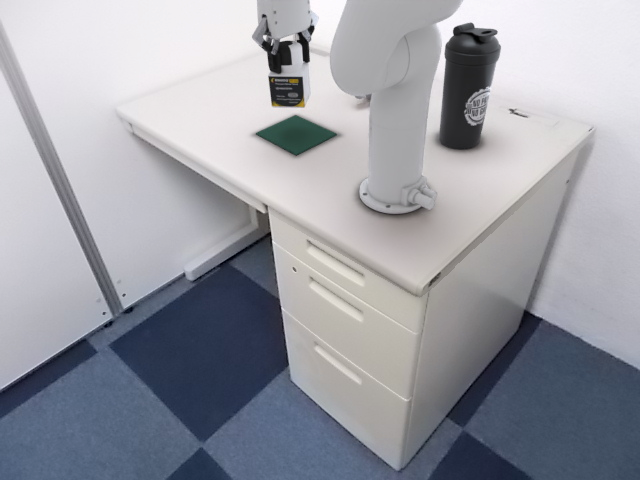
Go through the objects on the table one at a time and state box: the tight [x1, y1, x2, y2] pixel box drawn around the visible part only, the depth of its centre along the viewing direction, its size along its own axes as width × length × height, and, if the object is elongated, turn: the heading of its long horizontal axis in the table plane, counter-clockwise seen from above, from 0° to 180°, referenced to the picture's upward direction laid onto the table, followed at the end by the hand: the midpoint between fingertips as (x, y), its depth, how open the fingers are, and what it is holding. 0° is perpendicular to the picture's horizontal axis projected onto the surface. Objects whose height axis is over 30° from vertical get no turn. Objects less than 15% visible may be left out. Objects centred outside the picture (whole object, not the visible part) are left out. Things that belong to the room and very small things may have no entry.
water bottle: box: [438, 22, 502, 151], centre depth 98 cm, size 10×10×23 cm
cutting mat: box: [255, 114, 338, 156], centre depth 111 cm, size 14×12×1 cm
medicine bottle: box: [267, 40, 312, 109], centre depth 101 cm, size 7×7×12 cm
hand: (289, 65), depth 101 cm, fingers closed on medicine bottle, 6 cm apart
